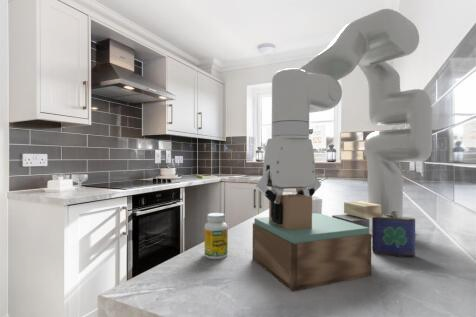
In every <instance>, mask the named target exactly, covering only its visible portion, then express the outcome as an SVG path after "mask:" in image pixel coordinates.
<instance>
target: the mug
mask: <svg viewBox="0 0 476 317" xmlns="http://www.w3.org/2000/svg"><path fill="white" fill-rule="evenodd" d="M322 209H323V197H321V196H318V195H313V196H312V214H313V213H319V214H323V213H322V211H323V210H322Z"/></svg>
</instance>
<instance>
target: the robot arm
mask: <svg viewBox="0 0 476 317" xmlns="http://www.w3.org/2000/svg"><path fill="white" fill-rule="evenodd" d="M419 43H420V35H419V30H418V29H417V26H416V25H415V24H414V23H413V22H412V21H411V19H409V18H407V17H406V16H404V15H403V14H402V13H400V12H399V11H397V10H394V9H391V8H383V9H379V10H376V11H374V12H372V13H370V14H367V15H364V16H362V17H360V18H357V19H355V20H353V21H351V22H349V23H347V24H346V25H345V26H344V27H342V29H341V30H340V31H339V33H337V35H336V36H335V38H333V40H332V41H331V42H330V44H329V45H328V46H327V48H325V49H324V50H322V52H319V53H318V54H317V55H315V56H314V57H312V59H310V60H309V61H308V62H306V63H305V64H303V65H302V66H300V67H299V68H295V67H294V68H284V69H281V70H278V71H276V72H275V73H274V74H273V76H272V78H271V138H268V139H267V140H266V145H265V150H264V158H263V164H262V165H263V168H262V176H261V178H260V179H259V180H258V182H257V183H256V185H255V187H256V189H257V190H258V191H259V192H261V194H263V195H264V196H265V197H266V198H267V199H268V202H271V218H272V221H273V222H275V223H277V224H282V223H283V204H280V202H281V198H282V194H283V193H284V189H286V190H287V189H289V190H290V189H295V191H296V194H300V195H305V196H310V197H312V196H314V194H315V193H316V192H317V190H319V188H320V187H322V183H321V182H320V180H319V179H318V177H317V176H316V165H315V164H316V162H315V160H316V159H315V153H314V146H313V141H312V139H311V138H310V135H312V134H313V133H314V129H313V128H311V127H310V114H312V113H319V112H324V111H329V110H332V109H333V108H335V107H336V106H338V105H339V103H340V102H341V100H342V96H343V90H342V86H341V84H340V82H339V80H341V79H343V78H345V77H346V76H349V75H350V74H351V73H352V72H353V71H354V70H355V69H356V67H357V66H358V67H359V69H360V70H361V71H362V72H363V75H364V76H365V78H366V80H367V86H368V112H369V113H368V114H369V115H368V116H369V120H370V122H371V123H372V124H373V125H375V126H379V127H380V126H381V127H382V126H383V127H384V126H385V127H386V126H388V127H389V126H397V125H398V126H399V125H409V126H410V127H409V128H401V129H396V128H395V129H382V130H378V131H373V132H370V133H369V134H368V135H367V136H366V138H365V139H364V142H363V143H364V144H363V145H364V152H365V153H364V154H365V158H366V164H367V166H366V168H367V203H373V204H378V205H381V214H382V215H383V214H387V215H388V214H390V213H391V212H392V210H397V211H398V212H397V214H398V216H397V217H404V215H403V214H404V212H403V211H404V206H403V205H404V202H403V201H404V177H403V173H402V171H401V170H400V169H399V168H398V166H397V165H396V164H395V162H396V163H397V162H398V163H399V162H407V163H408V162H409V163H410V162H423V161H427V160H428V159H429V158H430V157H431V155H432V151H433V109H432V100H431V97H430V95H429V93H428V92H427V91H425V90H423V89H419V88H418V89H417V88H414V89H408V90H403V91H401V90H402V89H401V77H400V74H399V72H398V71H397V70H396V69H395V68H394V67H393V66H392V65H390V64H389V63H388V61H392V60H395V59H398V58H403V57H407V56H409V55H411V54H413V53H414V52H415V51H416V50H417V48H418V46H419ZM269 188H270V189H269ZM387 215H383V216H387ZM366 219H369V234H371V236H372V218H366Z"/></svg>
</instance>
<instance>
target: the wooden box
mask: <svg viewBox="0 0 476 317" xmlns="http://www.w3.org/2000/svg"><path fill="white" fill-rule="evenodd" d="M331 217H333V218H337V219H340V220H344V221H347V222H351V223H354V224H357V225H361V226H364V227H368V228H369V219H367V218H361V217H357V216H353V215H349V214H345V213H344V214H334V215H331ZM251 260H253V261H255V262H256V263H257V264H258V265H259V266H260V267H261V268H263V269H264V270H265V271H266V272H268V274H270V275H271V276H273V277H274V279H276V280H277V281H278V282H280V283H281V284H282V285H283V286H285V287H286V288H287V289H288V290H290V291H291V292H297V291H302V290H307V289H312V288H316V287H321V286H326V285H331V284H335V283H340V282H341V283H342V282H346V281H351V280H356V279H361V278H366V277H370V276H372V235H371V234H365V235H357V236H349V237H342V238H334V239H326V240H318V241H310V242H303V243H295V244H293V243H291V242H289V241H287V240H285V239H283V238H281V237H279V236H277V235H275V234H274V233H272V232H270V231H268V230H266V229H264V228H262V227H260V226H258V225H256V224H254V223H252V258H251Z"/></svg>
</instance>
